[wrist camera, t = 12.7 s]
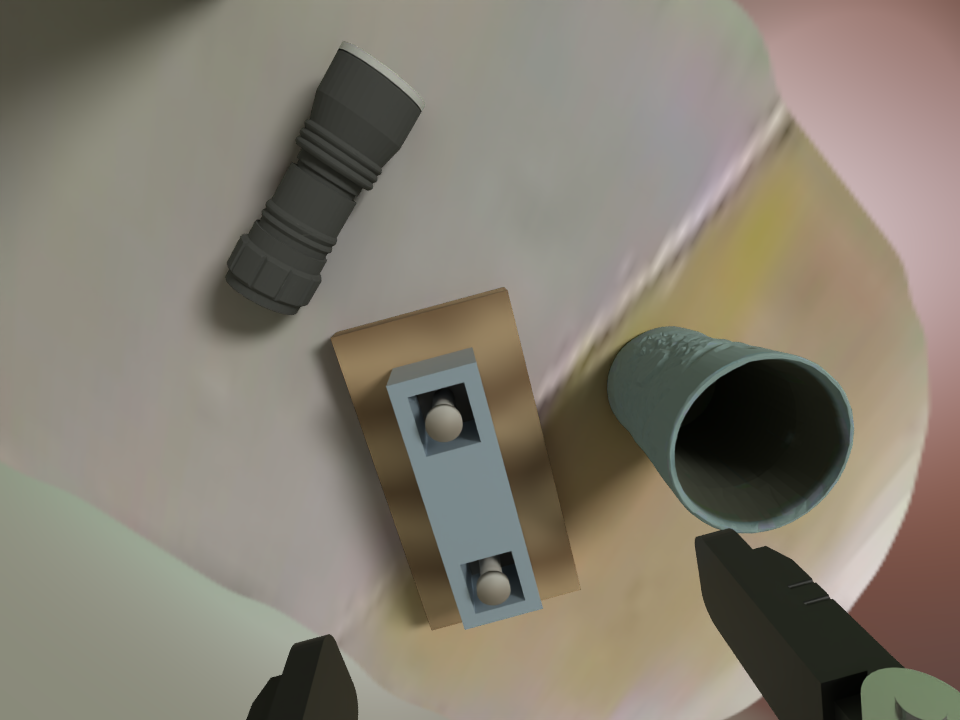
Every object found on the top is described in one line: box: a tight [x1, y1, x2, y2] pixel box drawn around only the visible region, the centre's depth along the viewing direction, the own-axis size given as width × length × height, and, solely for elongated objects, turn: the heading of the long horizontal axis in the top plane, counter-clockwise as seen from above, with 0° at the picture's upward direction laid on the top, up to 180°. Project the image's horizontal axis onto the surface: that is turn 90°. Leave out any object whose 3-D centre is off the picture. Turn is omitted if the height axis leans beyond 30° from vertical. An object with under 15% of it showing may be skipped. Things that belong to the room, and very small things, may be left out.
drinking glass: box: [607, 326, 854, 533], centre depth 32 cm, size 10×10×12 cm
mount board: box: [331, 287, 581, 630], centre depth 35 cm, size 24×12×7 cm, turn 15°
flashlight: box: [226, 41, 425, 315], centre depth 31 cm, size 15×5×5 cm, turn 147°
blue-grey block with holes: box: [386, 347, 543, 630], centre depth 34 cm, size 18×6×4 cm, turn 15°
